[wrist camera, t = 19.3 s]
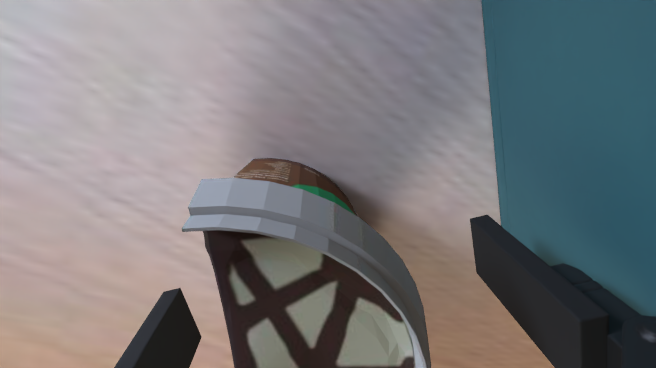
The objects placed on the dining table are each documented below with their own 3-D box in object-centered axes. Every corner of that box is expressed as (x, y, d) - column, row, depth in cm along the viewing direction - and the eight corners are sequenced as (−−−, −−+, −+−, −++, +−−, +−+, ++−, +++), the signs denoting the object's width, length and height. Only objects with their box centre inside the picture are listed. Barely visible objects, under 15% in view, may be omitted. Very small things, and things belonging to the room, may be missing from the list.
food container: (387, 320, 21) (449, 522, 12) (285, 333, 21) (267, 547, 12) (372, 114, 18) (448, 173, 8) (247, 129, 17) (175, 207, 8)
